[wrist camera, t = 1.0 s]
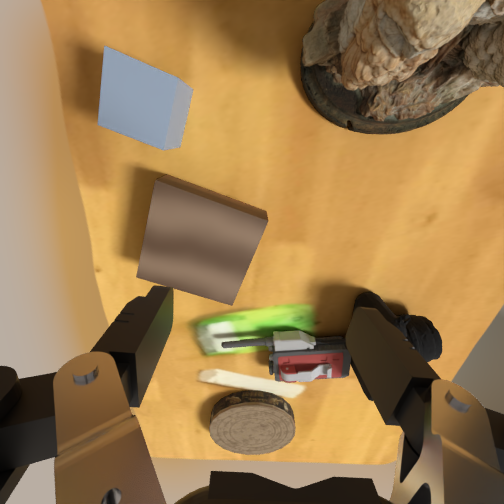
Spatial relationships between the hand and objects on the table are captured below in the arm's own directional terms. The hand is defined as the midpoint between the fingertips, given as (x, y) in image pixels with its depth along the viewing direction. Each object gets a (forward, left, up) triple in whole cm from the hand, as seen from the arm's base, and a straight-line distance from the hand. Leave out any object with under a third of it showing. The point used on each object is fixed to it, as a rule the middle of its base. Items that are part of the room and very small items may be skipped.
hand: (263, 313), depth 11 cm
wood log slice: (+40, +15, -20) cm, 47 cm away
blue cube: (-5, -12, -20) cm, 24 cm away
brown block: (+7, -4, -20) cm, 22 cm away
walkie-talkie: (+20, +13, -20) cm, 31 cm away
